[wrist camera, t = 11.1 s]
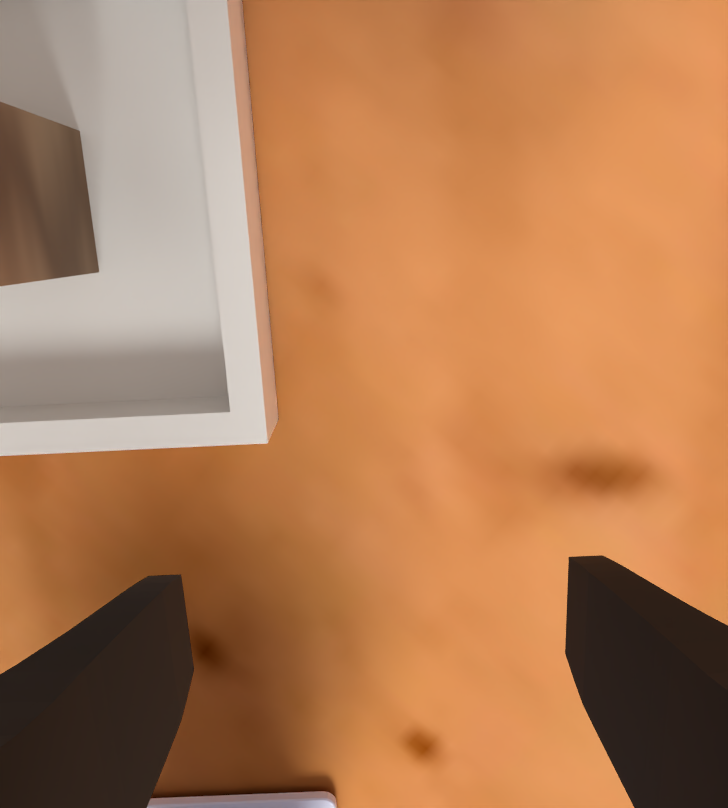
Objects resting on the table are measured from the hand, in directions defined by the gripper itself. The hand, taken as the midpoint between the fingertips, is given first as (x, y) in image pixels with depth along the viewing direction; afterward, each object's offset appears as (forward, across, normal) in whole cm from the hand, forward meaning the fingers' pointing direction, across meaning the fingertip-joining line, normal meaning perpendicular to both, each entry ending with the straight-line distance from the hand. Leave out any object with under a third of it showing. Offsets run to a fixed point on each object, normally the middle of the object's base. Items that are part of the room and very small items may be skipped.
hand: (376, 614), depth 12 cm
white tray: (+10, +10, -8) cm, 16 cm away
